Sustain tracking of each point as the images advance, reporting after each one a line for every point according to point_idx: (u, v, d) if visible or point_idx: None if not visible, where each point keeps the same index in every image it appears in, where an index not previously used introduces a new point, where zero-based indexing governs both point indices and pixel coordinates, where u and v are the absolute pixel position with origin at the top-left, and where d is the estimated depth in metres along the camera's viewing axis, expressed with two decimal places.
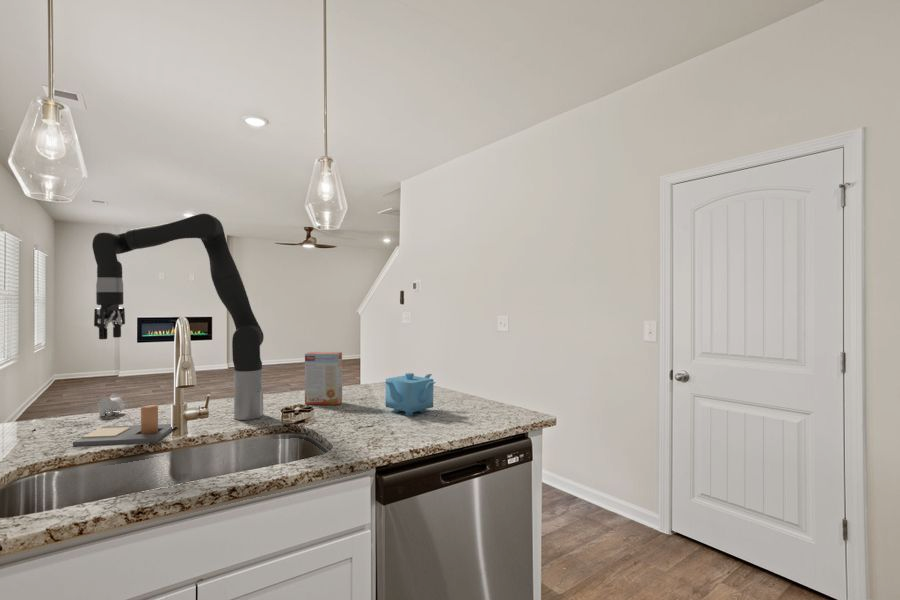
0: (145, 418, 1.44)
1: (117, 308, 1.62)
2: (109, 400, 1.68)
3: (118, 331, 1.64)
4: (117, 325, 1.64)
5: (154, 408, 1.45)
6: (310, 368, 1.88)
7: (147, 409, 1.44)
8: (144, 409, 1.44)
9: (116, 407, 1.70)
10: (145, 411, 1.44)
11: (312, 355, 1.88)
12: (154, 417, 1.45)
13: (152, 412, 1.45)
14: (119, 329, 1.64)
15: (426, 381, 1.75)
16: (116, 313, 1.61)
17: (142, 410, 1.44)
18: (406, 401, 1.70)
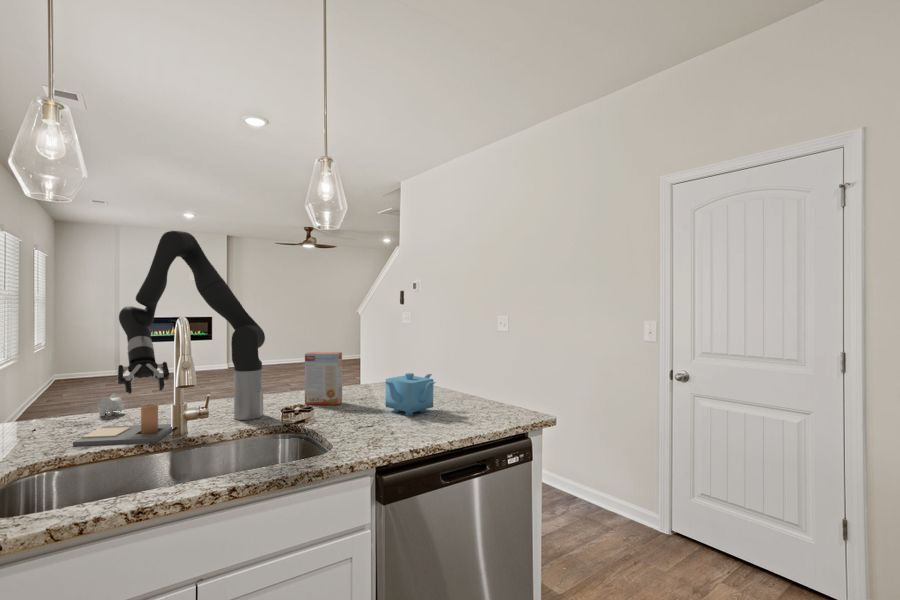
0: (145, 418, 1.44)
1: (151, 363, 1.59)
2: (109, 400, 1.68)
3: (159, 383, 1.56)
4: (159, 378, 1.57)
5: (154, 408, 1.45)
6: (310, 368, 1.88)
7: (147, 409, 1.44)
8: (144, 409, 1.44)
9: (116, 407, 1.70)
10: (145, 411, 1.44)
11: (312, 355, 1.88)
12: (154, 417, 1.45)
13: (152, 412, 1.45)
14: (159, 381, 1.56)
15: (426, 381, 1.75)
16: (146, 367, 1.56)
17: (142, 410, 1.44)
18: (406, 401, 1.70)
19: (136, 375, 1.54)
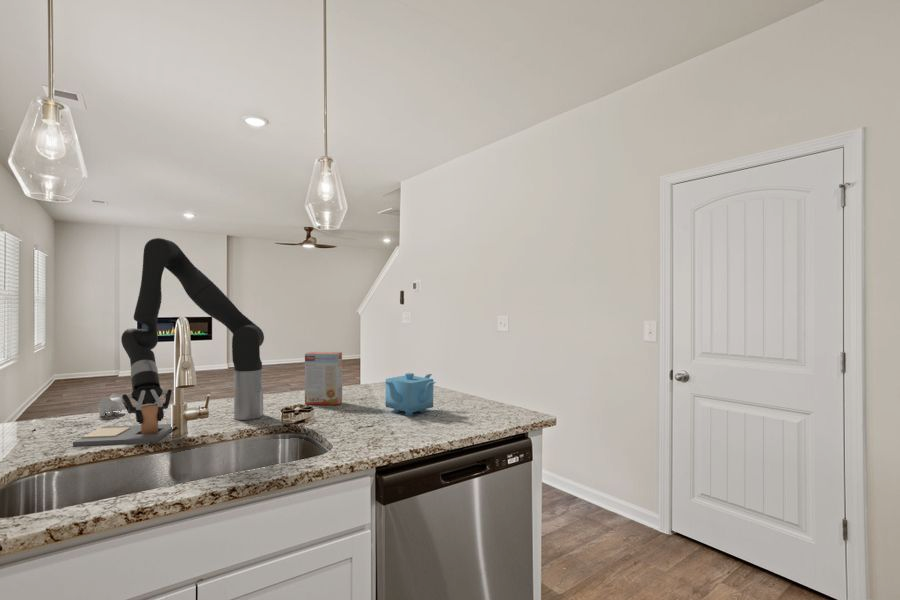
0: (145, 418, 1.44)
1: (156, 388, 1.52)
2: (109, 400, 1.68)
3: (158, 413, 1.47)
4: None
5: (154, 408, 1.45)
6: (310, 368, 1.88)
7: (147, 409, 1.44)
8: (144, 409, 1.44)
9: (116, 407, 1.70)
10: (145, 411, 1.44)
11: (312, 355, 1.88)
12: (154, 417, 1.45)
13: (152, 412, 1.45)
14: (158, 411, 1.47)
15: (426, 381, 1.75)
16: (150, 392, 1.49)
17: (142, 410, 1.44)
18: (406, 401, 1.70)
19: (143, 402, 1.48)
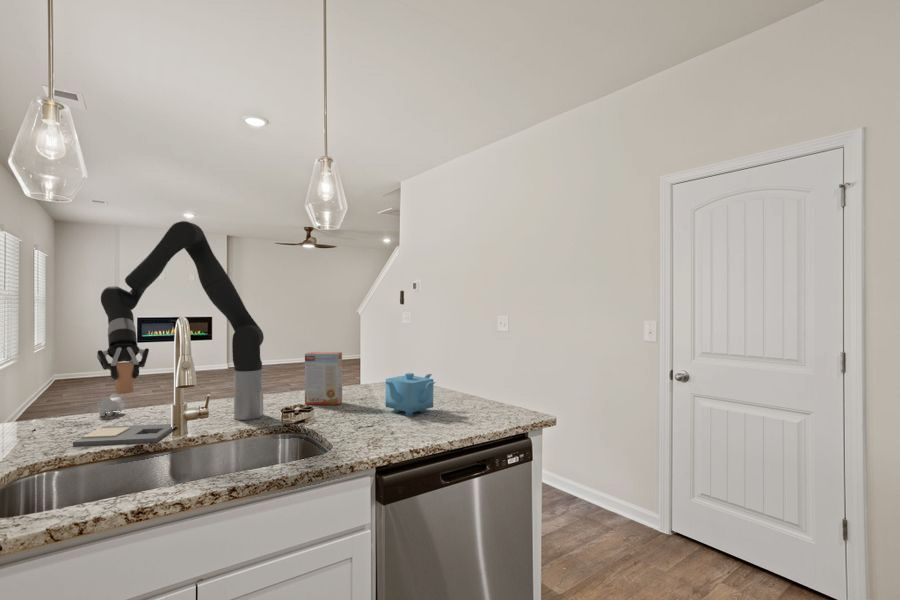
0: (120, 374, 1.43)
1: (133, 346, 1.50)
2: (109, 400, 1.68)
3: None
4: None
5: (129, 365, 1.44)
6: (310, 368, 1.88)
7: (122, 365, 1.43)
8: (119, 365, 1.42)
9: (116, 407, 1.70)
10: (120, 367, 1.43)
11: (312, 355, 1.88)
12: (129, 373, 1.44)
13: (127, 369, 1.43)
14: None
15: (426, 381, 1.75)
16: (127, 350, 1.48)
17: (117, 366, 1.43)
18: (406, 401, 1.70)
19: (119, 359, 1.46)
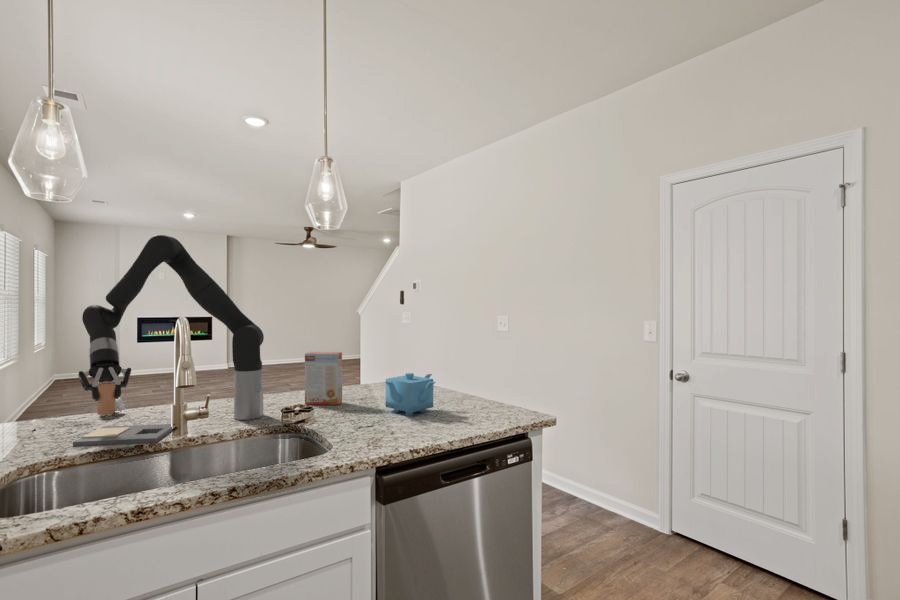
0: (101, 395, 1.42)
1: (115, 366, 1.49)
2: None
3: (115, 390, 1.45)
4: None
5: (111, 385, 1.43)
6: (310, 368, 1.88)
7: (103, 386, 1.42)
8: (100, 386, 1.42)
9: (116, 407, 1.70)
10: (101, 388, 1.42)
11: (312, 355, 1.88)
12: (110, 394, 1.43)
13: (109, 390, 1.42)
14: (115, 388, 1.45)
15: (426, 381, 1.75)
16: (108, 370, 1.47)
17: (98, 387, 1.42)
18: (406, 401, 1.70)
19: (101, 379, 1.45)
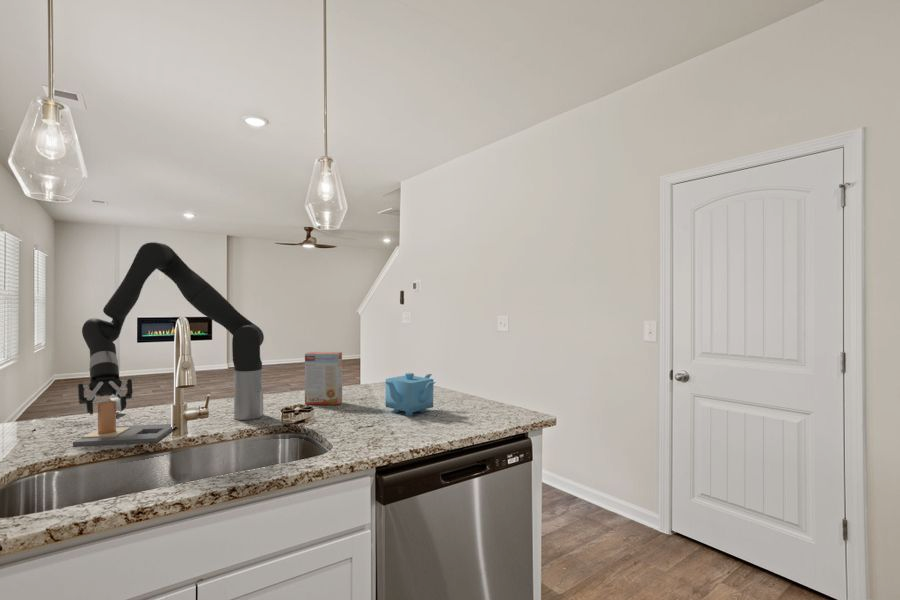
0: (102, 414, 1.42)
1: (115, 380, 1.49)
2: (109, 400, 1.68)
3: (121, 402, 1.46)
4: (120, 397, 1.47)
5: (111, 404, 1.43)
6: (310, 368, 1.88)
7: (104, 405, 1.42)
8: (101, 405, 1.42)
9: (116, 407, 1.70)
10: (102, 407, 1.42)
11: (312, 355, 1.88)
12: (111, 413, 1.43)
13: (109, 409, 1.42)
14: (120, 400, 1.46)
15: (426, 381, 1.75)
16: (109, 384, 1.47)
17: (99, 406, 1.42)
18: (406, 401, 1.70)
19: (98, 393, 1.45)
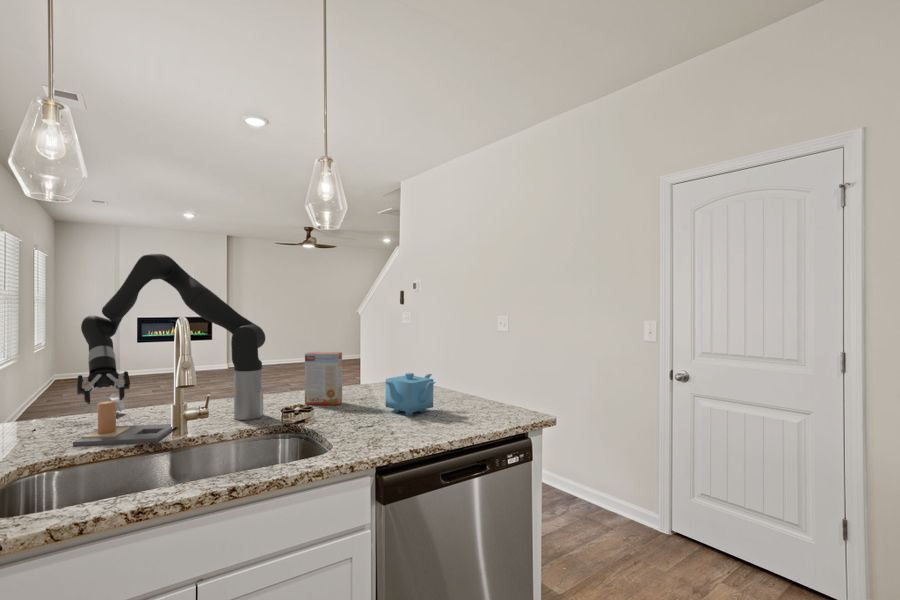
0: (102, 414, 1.42)
1: (112, 373, 1.59)
2: (109, 400, 1.68)
3: (119, 392, 1.56)
4: (119, 388, 1.58)
5: (111, 404, 1.43)
6: (310, 368, 1.88)
7: (104, 405, 1.42)
8: (101, 405, 1.42)
9: (116, 407, 1.70)
10: (102, 407, 1.42)
11: (312, 355, 1.88)
12: (111, 413, 1.43)
13: (109, 409, 1.43)
14: (119, 390, 1.57)
15: (426, 381, 1.75)
16: (107, 376, 1.57)
17: (99, 406, 1.42)
18: (406, 401, 1.70)
19: (96, 385, 1.55)
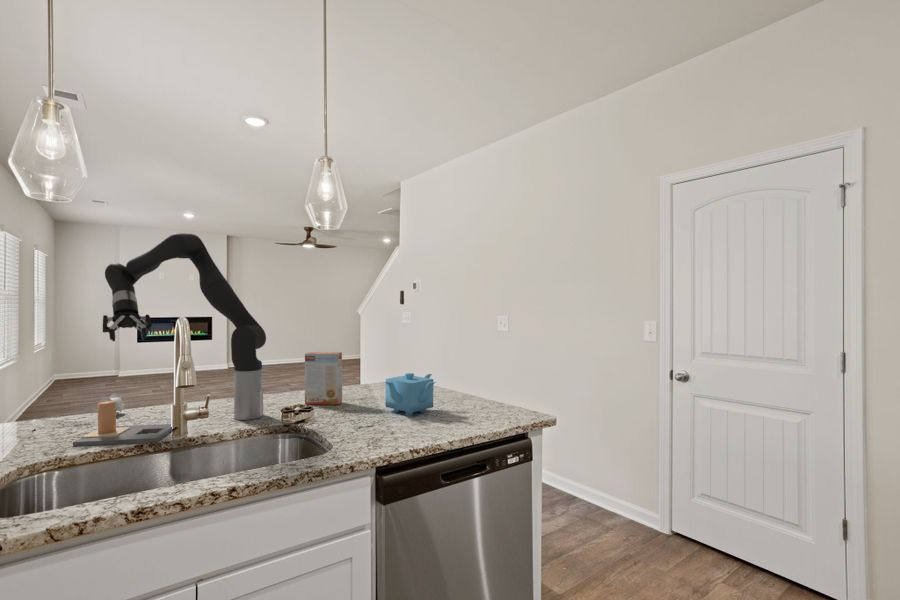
0: (102, 414, 1.42)
1: (134, 315, 1.68)
2: (109, 400, 1.68)
3: (142, 332, 1.65)
4: (141, 329, 1.67)
5: (111, 404, 1.43)
6: (310, 368, 1.88)
7: (104, 405, 1.42)
8: (101, 405, 1.42)
9: (116, 407, 1.70)
10: (102, 407, 1.42)
11: (312, 355, 1.88)
12: (111, 413, 1.43)
13: (109, 409, 1.43)
14: (141, 331, 1.65)
15: (426, 381, 1.75)
16: (130, 318, 1.66)
17: (99, 406, 1.42)
18: (406, 401, 1.70)
19: (120, 325, 1.64)
